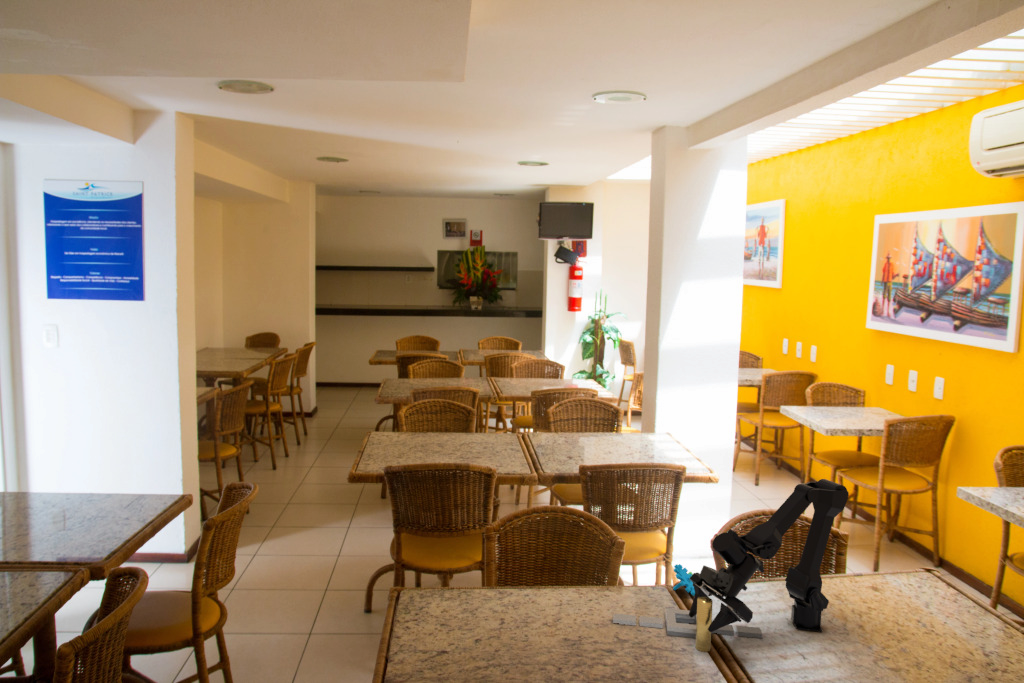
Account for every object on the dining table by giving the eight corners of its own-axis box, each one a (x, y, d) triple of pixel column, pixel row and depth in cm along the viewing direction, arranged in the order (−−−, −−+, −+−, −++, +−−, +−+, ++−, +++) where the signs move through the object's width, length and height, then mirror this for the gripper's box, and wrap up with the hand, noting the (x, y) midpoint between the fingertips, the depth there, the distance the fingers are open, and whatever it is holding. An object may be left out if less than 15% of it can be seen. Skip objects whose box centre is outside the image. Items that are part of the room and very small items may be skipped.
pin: (709, 645, 176) (711, 597, 175) (711, 652, 173) (713, 603, 171) (694, 643, 177) (696, 596, 175) (696, 651, 173) (698, 602, 172)
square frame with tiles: (757, 625, 186) (758, 617, 186) (764, 645, 176) (765, 636, 176) (613, 611, 193) (613, 603, 192) (612, 629, 183) (612, 620, 183)
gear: (696, 597, 199) (673, 566, 202) (680, 608, 201) (658, 578, 204) (705, 587, 208) (683, 558, 212) (690, 598, 210) (669, 569, 214)
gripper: (697, 541, 182) (659, 589, 179) (745, 570, 165) (704, 623, 162) (720, 566, 186) (683, 613, 183) (770, 597, 169) (730, 649, 166)
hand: (699, 623), depth 173 cm, fingers open, 7 cm apart
